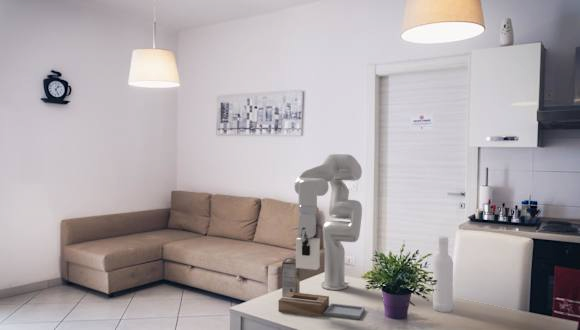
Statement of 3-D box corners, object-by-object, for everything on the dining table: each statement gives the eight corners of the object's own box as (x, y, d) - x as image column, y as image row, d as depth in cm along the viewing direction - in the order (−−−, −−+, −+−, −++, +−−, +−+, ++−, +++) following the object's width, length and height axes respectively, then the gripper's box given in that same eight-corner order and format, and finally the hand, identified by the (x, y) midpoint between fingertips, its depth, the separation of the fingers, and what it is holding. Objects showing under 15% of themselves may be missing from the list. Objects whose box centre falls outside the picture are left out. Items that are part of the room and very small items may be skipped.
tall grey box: (286, 292, 221) (286, 257, 220) (299, 292, 220) (299, 258, 219) (281, 298, 212) (281, 262, 211) (296, 299, 211) (296, 263, 210)
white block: (299, 265, 200) (299, 237, 200) (319, 267, 197) (319, 238, 197) (295, 267, 197) (295, 238, 196) (316, 269, 193) (316, 240, 193)
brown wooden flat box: (288, 302, 207) (288, 290, 206) (328, 306, 200) (328, 295, 200) (278, 311, 195) (278, 299, 195) (321, 316, 189) (321, 303, 189)
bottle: (455, 312, 194) (456, 239, 192) (436, 312, 194) (437, 239, 192) (448, 305, 202) (449, 235, 200) (430, 306, 202) (430, 235, 200)
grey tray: (331, 306, 201) (331, 303, 201) (364, 310, 196) (364, 307, 196) (324, 315, 190) (324, 311, 190) (359, 319, 186) (359, 315, 186)
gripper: (305, 206, 205) (305, 249, 206) (292, 212, 189) (292, 257, 190) (322, 207, 202) (322, 250, 203) (310, 212, 187) (310, 259, 187)
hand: (307, 253), depth 197 cm, fingers closed on white block, 4 cm apart
